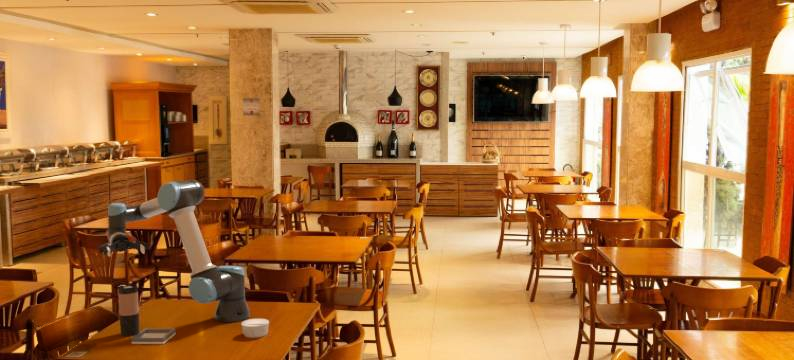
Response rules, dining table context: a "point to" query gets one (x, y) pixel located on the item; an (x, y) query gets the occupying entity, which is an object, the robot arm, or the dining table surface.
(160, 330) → the mug dock
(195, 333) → the dining table surface
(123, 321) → the travel mug
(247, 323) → the ramekin
